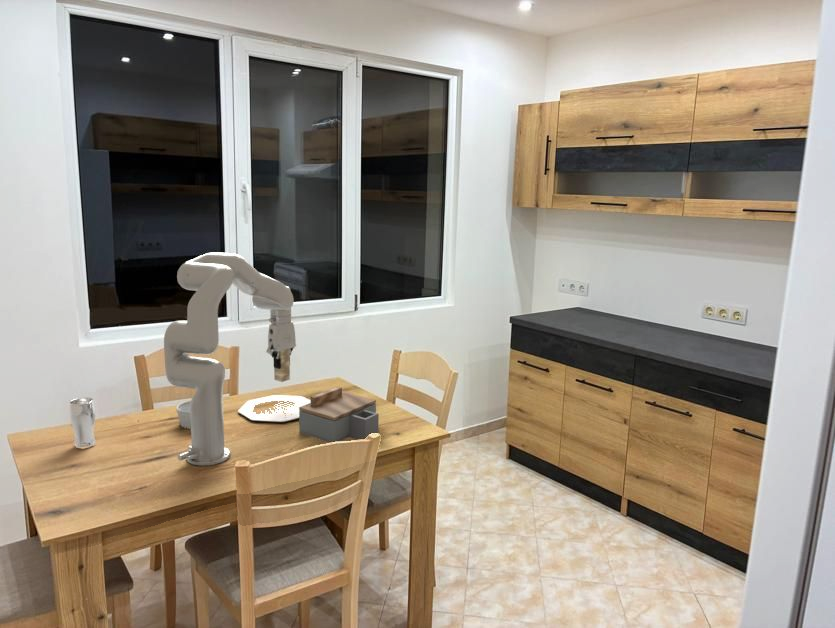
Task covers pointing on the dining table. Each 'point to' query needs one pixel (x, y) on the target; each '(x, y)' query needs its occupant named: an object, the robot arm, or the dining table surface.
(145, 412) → the dining table surface
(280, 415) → the plate
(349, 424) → the toolbox
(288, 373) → the rectangular block
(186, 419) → the ramekin
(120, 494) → the dining table surface
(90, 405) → the beer glass
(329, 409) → the lid
